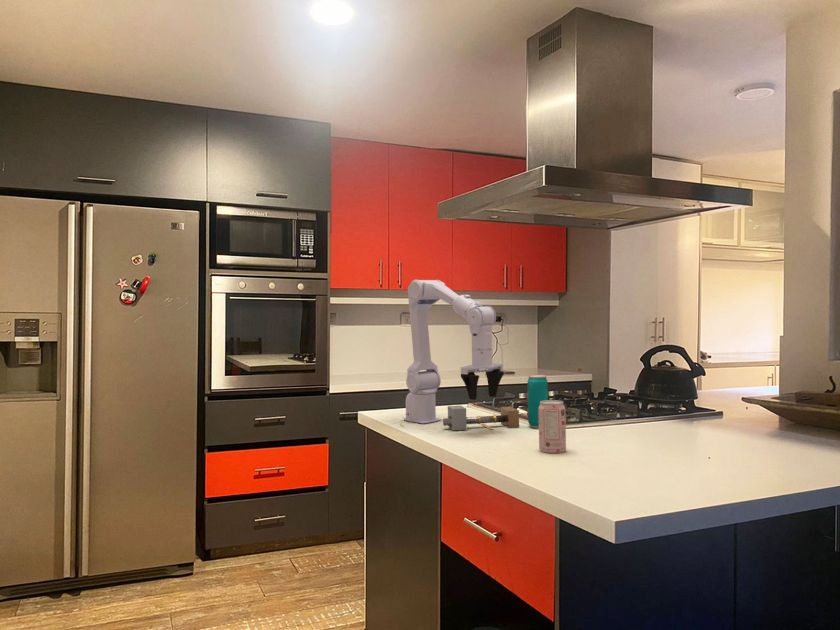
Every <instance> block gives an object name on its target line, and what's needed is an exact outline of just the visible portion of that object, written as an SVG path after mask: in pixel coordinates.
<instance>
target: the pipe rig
mask: <svg viewBox="0 0 840 630" xmlns="http://www.w3.org/2000/svg"><path fill="white" fill-rule="evenodd" d="M496 423H500V424H501V425H502V426H504V427H506V428H508V429H517V428H520V411H519V409H517V408H515V407H512V406H501V407H500V415H487V416H485V415H484V416H480V415H477V416H469V417H468V416H466V424H467V425H475V424H478V425H481V426H482V427H484V428H486V429H487V430H489V431H493V430H494V428H492V427H490V426H489V425H487V424H496ZM442 425H443V426H444V427H445V426H448V425H452V418H448V417H447V418H442Z"/></svg>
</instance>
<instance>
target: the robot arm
mask: <svg viewBox="0 0 840 630" xmlns="http://www.w3.org/2000/svg"><path fill="white" fill-rule="evenodd" d="M407 295H408V296H407V297H408V307H409V318H410V330H411V343H412V355H413V356H412V357H413V362H412V364H411V365H410V366H409V367H407V370H406V371H407V372H406V373H407V375H406V380H405V381H406V387H407V389H408V391H409V393H408V394H407V395H406V397H405V418H403V421H408V422H411V423H418V424H423V425H424V424H429V423H435V422H441V421H443V418H439V417H436V416H437V415H436V413H437V412H436V411H437V410H436V407H437V405H436V404H437V403H436V392H437V393H438V389H439V388H440V385H441V376H440V372H439V367H438V365H436V364H435V363H434V362H433V361H432V358H431V345H430V334H429V333H430V332H429V322H428V320H429V319H428V310H429V309H430V308H431V307H432V306H434V305H435V304H436V303H438V301H439V300H442V301H444V302H445V303H447V304H449V305H451V306H452V309H453V311H454V312H455V313H456V314H458V315H459V316H460V317H462V318H463V319H465V320H466V322H467V324H468V326H469V332H470V334H471V364H470V365H465V366H460V378H461V380H462V381H463V383H464V385H465V387H466V391H467V394H468V398H469V400H474V401H475V400H477V397H478V393H477V392H478V382H479V379H480V375H478V374H477V375H476V373H485V376H486V379H487V386H488V387H487V388H488V389H487V390H488V395H489V397H491V398H492V397H493V398H496V397H497V393H498V389H499V385H500V383H501V380H502V378H503V376H504V375H505V374H504V373H505V372H504V363H500V362H496V363H495V362H494V363H493V326H494V325H495V323H496V320H497V313H496V311H495V309H494V308H493V307H492V306H491V305H486V306H483V305H482V303H481V302H480V301H477V300H476V301H475V300H474V299H473V298H471V295H469V294H460V295H459V294H458V293H456V292H454V290H452V289H451V288H450V287H448V286H447V285H446V283H445V282H443V281H441V280H440V279H413V280H412V281H411V282H410V284H409V286H408V287H407Z"/></svg>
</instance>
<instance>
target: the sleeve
mask: <svg viewBox="0 0 840 630" xmlns="http://www.w3.org/2000/svg"><path fill="white" fill-rule="evenodd" d="M466 417H467V408H466V407H464V406H463V405H461V404H460V405H447V418H452V425H447V427H448V428H449V429H451V430H452V431H460V430H461V431H462V430H464V431H465V430H467V425H468V424H466Z"/></svg>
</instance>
